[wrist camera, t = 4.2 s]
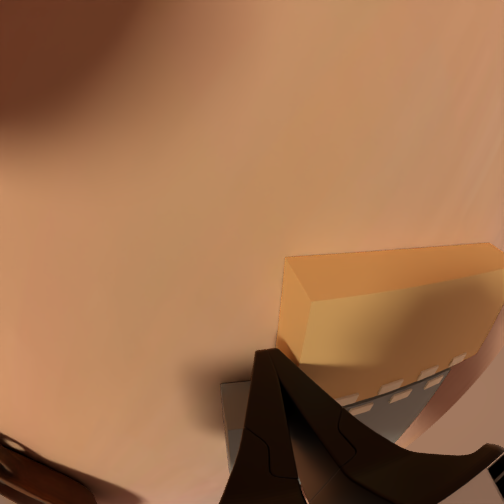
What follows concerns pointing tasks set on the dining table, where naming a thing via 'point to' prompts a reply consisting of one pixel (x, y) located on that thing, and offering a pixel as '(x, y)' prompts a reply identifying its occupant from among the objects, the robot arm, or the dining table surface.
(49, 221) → the dining table surface
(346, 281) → the stub
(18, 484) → the dish
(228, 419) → the grey flat block
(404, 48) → the dining table surface
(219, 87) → the dining table surface
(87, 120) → the dining table surface
